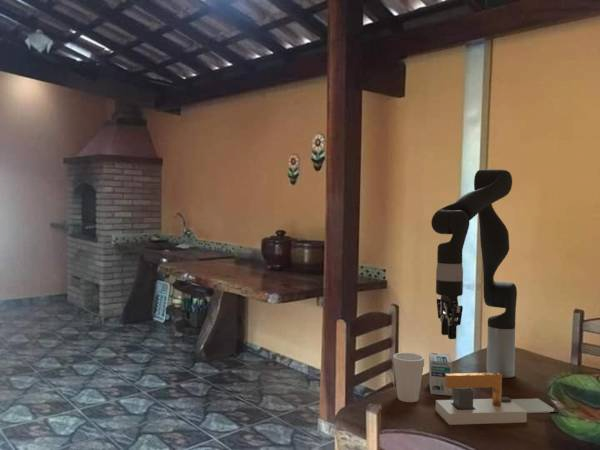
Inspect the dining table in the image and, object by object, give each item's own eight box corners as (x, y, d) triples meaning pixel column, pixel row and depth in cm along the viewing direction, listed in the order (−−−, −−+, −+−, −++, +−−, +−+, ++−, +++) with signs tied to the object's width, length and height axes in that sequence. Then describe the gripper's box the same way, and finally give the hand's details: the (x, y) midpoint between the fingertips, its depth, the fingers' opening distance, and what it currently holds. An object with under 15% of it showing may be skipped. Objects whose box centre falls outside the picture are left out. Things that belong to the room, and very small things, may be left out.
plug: (453, 414, 141) (453, 386, 141) (466, 413, 142) (467, 386, 142) (458, 419, 137) (459, 391, 137) (472, 419, 138) (473, 391, 138)
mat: (507, 400, 152) (507, 399, 152) (537, 399, 153) (537, 398, 153) (524, 413, 142) (524, 412, 142) (557, 412, 143) (557, 411, 143)
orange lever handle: (444, 404, 140) (444, 373, 140) (498, 402, 142) (499, 372, 142) (447, 407, 138) (447, 376, 138) (503, 406, 139) (503, 374, 139)
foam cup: (405, 406, 147) (406, 362, 147) (386, 396, 155) (387, 354, 155) (430, 400, 152) (430, 358, 151) (410, 391, 160) (410, 351, 160)
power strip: (435, 410, 144) (435, 397, 144) (507, 408, 146) (508, 395, 146) (449, 424, 134) (449, 410, 134) (526, 422, 136) (526, 408, 136)
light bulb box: (452, 396, 156) (452, 362, 156) (430, 394, 157) (430, 360, 157) (449, 385, 166) (449, 353, 166) (428, 383, 168) (428, 351, 167)
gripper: (472, 281, 138) (471, 342, 138) (452, 275, 152) (451, 331, 153) (446, 281, 137) (445, 343, 138) (428, 275, 152) (427, 331, 152)
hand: (448, 336), depth 145 cm, fingers open, 4 cm apart
